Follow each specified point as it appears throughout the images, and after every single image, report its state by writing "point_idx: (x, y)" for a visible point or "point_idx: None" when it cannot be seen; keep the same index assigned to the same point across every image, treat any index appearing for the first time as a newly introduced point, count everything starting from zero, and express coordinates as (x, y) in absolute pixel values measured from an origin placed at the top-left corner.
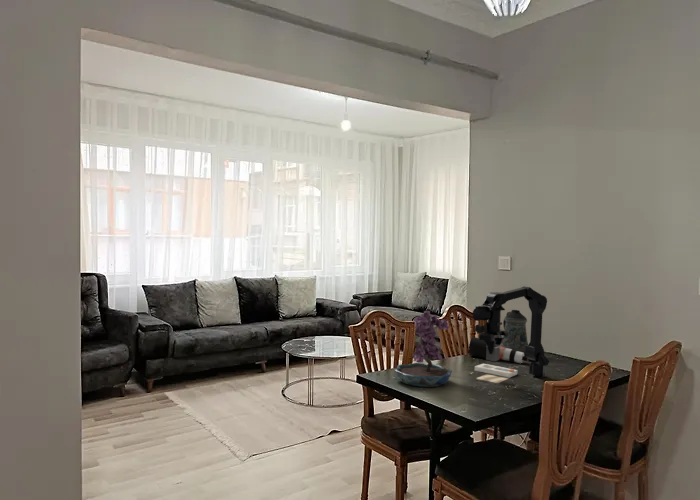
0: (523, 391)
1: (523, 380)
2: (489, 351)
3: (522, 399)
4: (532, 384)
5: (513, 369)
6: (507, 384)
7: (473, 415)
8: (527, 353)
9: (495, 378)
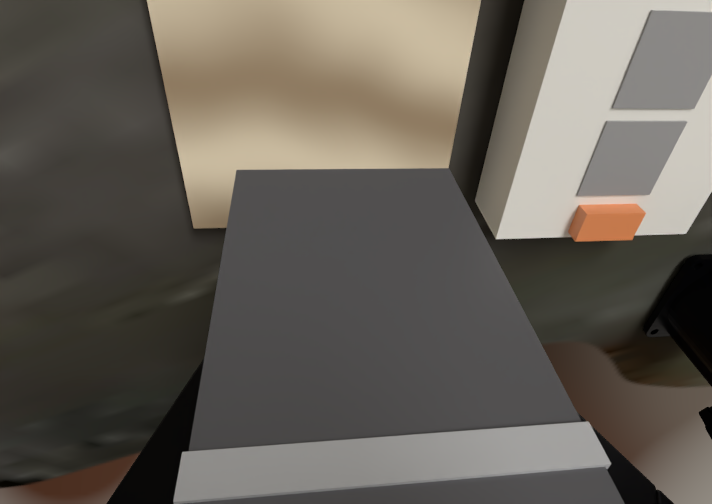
0: None
1: (523, 278)
2: (180, 413)
3: (42, 431)
4: None
5: (702, 198)
6: None
7: None
8: None
9: (350, 134)
